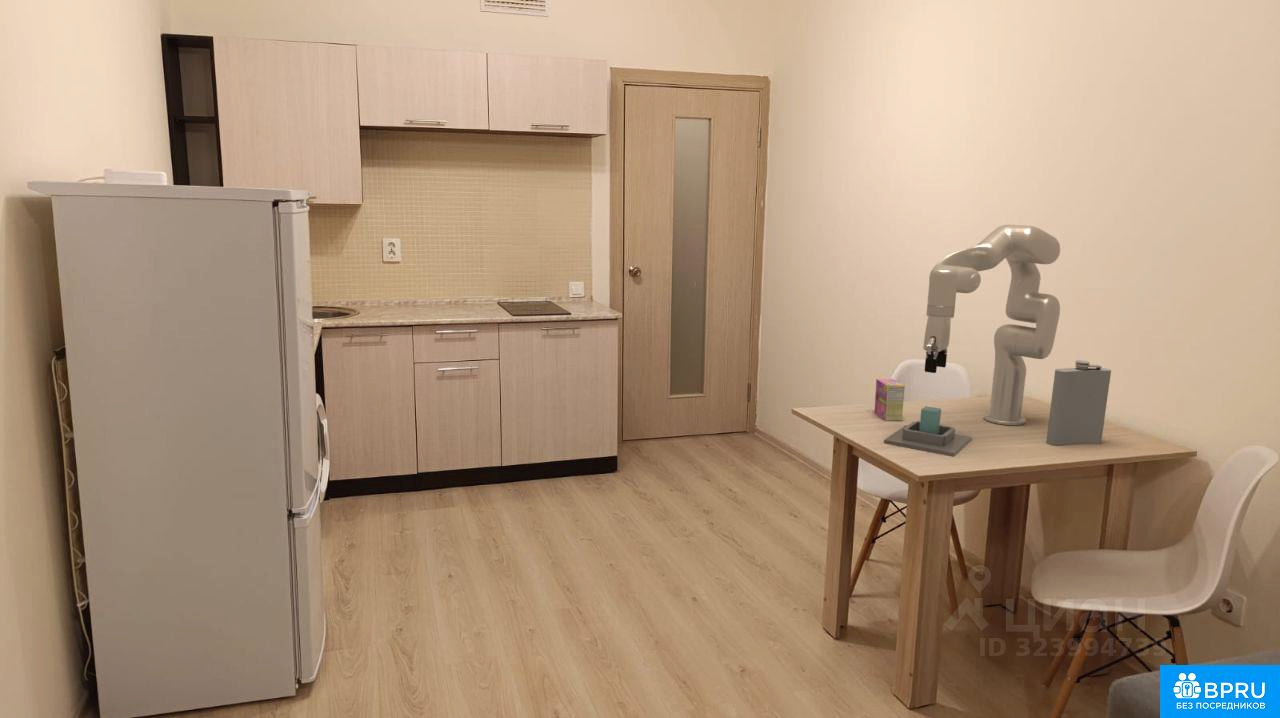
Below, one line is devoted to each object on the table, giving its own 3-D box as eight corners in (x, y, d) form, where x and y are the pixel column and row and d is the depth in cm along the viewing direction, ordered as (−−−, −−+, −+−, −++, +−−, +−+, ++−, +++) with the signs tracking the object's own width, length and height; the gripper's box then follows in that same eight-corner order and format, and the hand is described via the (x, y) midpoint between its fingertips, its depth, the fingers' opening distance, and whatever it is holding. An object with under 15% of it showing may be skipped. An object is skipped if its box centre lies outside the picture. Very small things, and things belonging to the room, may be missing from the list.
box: (873, 412, 281) (876, 378, 279) (890, 412, 282) (892, 378, 279) (884, 421, 271) (887, 385, 269) (902, 421, 272) (905, 385, 269)
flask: (1092, 439, 256) (1103, 358, 251) (1103, 443, 251) (1114, 362, 246) (1041, 441, 253) (1051, 359, 248) (1051, 446, 248) (1062, 363, 243)
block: (923, 435, 253) (925, 406, 251) (938, 438, 250) (941, 408, 248) (918, 438, 249) (921, 409, 247) (933, 441, 246) (936, 411, 245)
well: (905, 428, 263) (906, 415, 262) (971, 440, 252) (972, 427, 251) (883, 443, 247) (884, 429, 246) (953, 456, 236) (955, 442, 235)
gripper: (935, 306, 251) (930, 362, 254) (918, 313, 237) (913, 372, 240) (961, 309, 247) (956, 366, 250) (945, 316, 233) (939, 376, 236)
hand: (935, 369), depth 245 cm, fingers open, 9 cm apart
